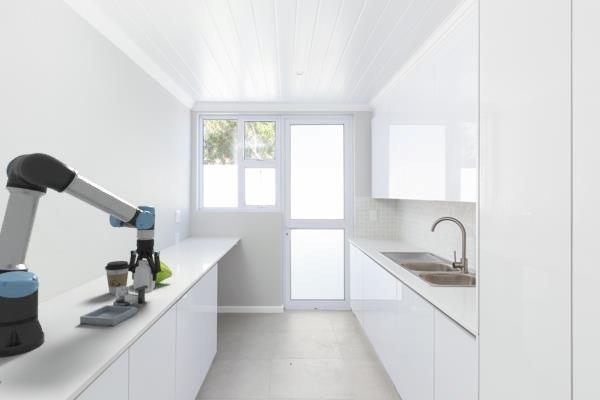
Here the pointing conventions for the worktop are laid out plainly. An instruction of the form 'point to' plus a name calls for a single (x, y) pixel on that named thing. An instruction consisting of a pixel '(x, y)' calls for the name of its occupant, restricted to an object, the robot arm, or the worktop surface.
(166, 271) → the lettuce
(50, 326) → the worktop surface
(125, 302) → the crank base
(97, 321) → the tray
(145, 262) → the pill bottle
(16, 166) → the robot arm
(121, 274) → the coffee cup
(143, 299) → the crank
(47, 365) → the worktop surface
